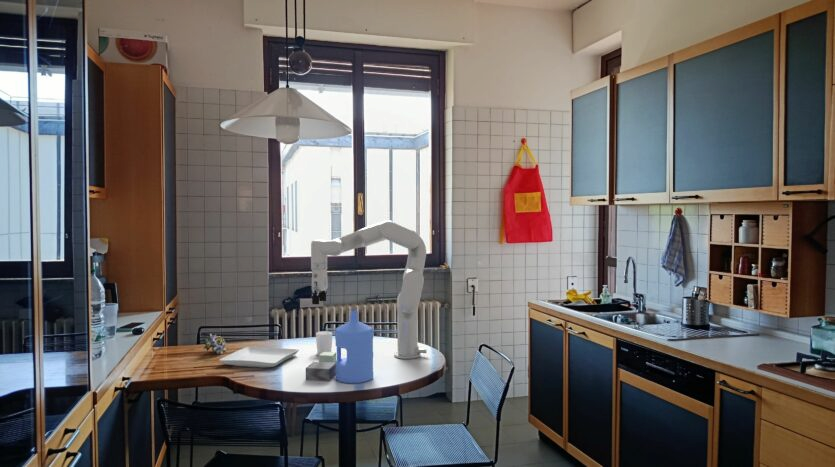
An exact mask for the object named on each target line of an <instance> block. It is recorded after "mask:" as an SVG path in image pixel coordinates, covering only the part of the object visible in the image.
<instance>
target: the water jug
mask: <svg viewBox="0 0 835 467" xmlns="http://www.w3.org/2000/svg"><path fill="white" fill-rule="evenodd" d="M358 312H359V311H358V310H350V315H349V317H350V320H349V321H348V322H345V323H344V324H342V325H340V326H337V327H336V328H335V333H334V334H335V335H334V336H335V337H334V339H335V347H336V373H335V376H334V378H335V379H336V381H338V382H339V383H344V384H363V383H367V382H369V381H372V379H373V378H374V331H373V330H374V329H373V327H372V326H370V325H368V324H366V323H364V322H361V321H359V314H358ZM342 349H345V350H346V357H342Z"/></svg>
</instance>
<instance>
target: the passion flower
mask: <svg viewBox="0 0 835 467" xmlns="http://www.w3.org/2000/svg"><path fill="white" fill-rule="evenodd" d="M203 343H204V345H205V346H204V347H203V349H202V350H205V349H206V350H205V351H206V353H205V354H207V353H208V351H209V350H210V349H211V351H212V352H215V354H217V355H223V351H226V349H227V348H226V340H225V339H224V336H223V335H221V336H220V335H219V336H218V335H217V334H214V335H213V334H212V333H209V339H207V338H206V339H205V340H204V341H203Z"/></svg>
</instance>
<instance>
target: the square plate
mask: <svg viewBox="0 0 835 467" xmlns="http://www.w3.org/2000/svg"><path fill="white" fill-rule="evenodd" d="M298 352H300V350H299V348H298V349H297V348H295V349H294V348H284V347H283V348H282V347H274V346H273V347H270V346H246V347H244V348H241V349H239V350H236V351H234V352H232V353H230V354H228V355H226V356H224V357H222V358H220V359H219V361H220V362H221V363H222V364H225V365H228V366H233V367H234V366H235V367H246V366H247V367H248V368H251V367H252V368H265V369H266V368H273V367H276V366H278V365H279V364H281V363H282V362H284V361H286V360H288V359H290V358H292V357H294V356H295V355H296V354H297V353H298Z"/></svg>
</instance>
